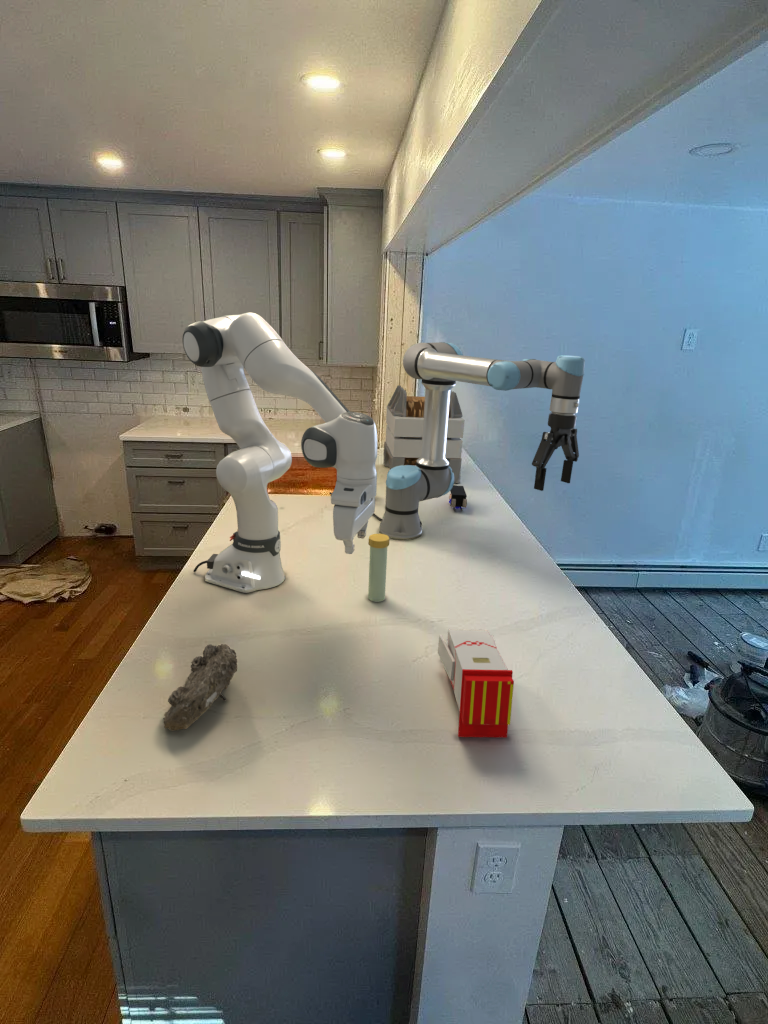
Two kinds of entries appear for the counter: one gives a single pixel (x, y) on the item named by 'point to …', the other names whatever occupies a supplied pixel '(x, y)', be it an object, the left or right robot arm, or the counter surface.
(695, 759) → the counter surface
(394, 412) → the white slatted crate
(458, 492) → the figurine character
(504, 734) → the toy
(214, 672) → the fossil
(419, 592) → the counter surface
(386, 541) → the lid
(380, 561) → the jar
